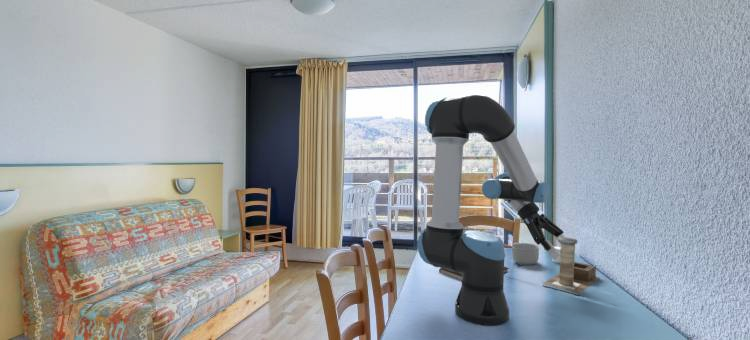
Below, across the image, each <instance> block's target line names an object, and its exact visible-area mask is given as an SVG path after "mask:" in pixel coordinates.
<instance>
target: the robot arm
mask: <svg viewBox="0 0 750 340" xmlns="http://www.w3.org/2000/svg"><path fill="white" fill-rule="evenodd" d="M424 124H425V127H426V131H427V132H428V133H429V134H431V140H432V141H433V143H434V144H435V157H434V169H433V170H434V174H433V191H432V205H431V208H432V209H431V219H430V220H429V221H428V222H426V227H425V228H423V229H422V230H421V231H420V233H419V234H420V235H418V237H417V252H418V254H419V256H420V259H422V260H423V261H424V262H425V263H426V264H428V265H431V266H433V267H434V268H439V269H440V268H443V269H447V270H451V271H454V272H458V273H461V274H462V280H461V287H460V289H459V292H458V294H457V297H456V300H455V303H454V313H455V314H456V315H457V316H458V317H459V318H460V319H462V320H464V321H466V322H467V323H470V324H475V325H480V326H489V327H491V326H501V325H504V324H505V323H508V321H509V319H510V307H509V305H508V301H507V299H506V295H505V291H504V284H505V283H504V281H505V280H504V277H505V273H504V267H505V258H506V253H505V244H504V241H503V240H502V239H501V238H500V237H499V236H497V235H495V234H493V233H489V232H486V231H481V230H480V231H478V230H465V231H464V226H463V224H462V223H461V222H460V211H461V210H460V207H461V193H462V192H461V191H462V178H463V177H462V175H463V173H462V172H463V159H464V145H465V144H466V143H468V142H469V141H470V139H469V138H470V134H479V135H481V136H482V138H483V139H484V140H485V141H486V142H488V143H490V144H491V146H492V148H493V151H495V153H496V156H498V159H499V160H500V162H501V164H502V166H503V168H504V170H505V171H506V172H502V173H500V174H498V175H497V176H495V177H494V178H489V179H486V180H485V181H484V182H483V183H482V186H481V192H482V194H483V196H484V197H485V198H487V199H490V200H505V201H506V202H507V203H508V204H509V205H510V207H511V209H513V210H514V211H515V212H516V213H517V216H519V217H520V219H521V220H522V221H523V224H525V225H526V228H527V229H528V232H529V233H530V235H531V237H532V239H533V241H534V243H536V245H537V246H539V245H541V246H542V247H543V248H544V249H545V251H546V252H547V253H548V255H549V256H550V257H551V259H552V258H553V259H556V258H557V257H559V256H560V254H559V253H558V251H557V250H556V249H555V248H554V247H553V246H554V245H553V244H552V243H551V242H550V240H549V239H546V237H545V235H544V234H545V233H544V231H543V229H544V230H545V231H547V232H548V233H549V234H551V235H553V236H554V237H555V239H556V241H557V242H558V243H559V244H560V245H561V242H559V238H560V237H565V236H564V235H563V234H564V233H565V232H564V231H563V229H561V227H559V226H558V225H556V224H555V223H554V222H553V221H552V220H551V219H549V218H548V217H547V216H546V215H545V213H541V214H539V213H538V212H539V211H540V208H539V206H538V205H537V204H538V203H539V204H544V203H546V202H547V200H548V199H549V196H550V185H549V183H548V182H546V181H542V180H538V179H537V177H536V175H535V173H534V171H533V169H532V167H531V164H530V163H529V161H528V158H527V156H526V153H525V152H524V149H523V147H522V145H521V143H520V141H519V139H518V137H517V136H516V135H517V134H516V132H515V129H516V126H515V125H516V124H515V123H514V121H513V118H512V116H511V115H510V113H509V112H508V111H507V110H506V109H505V108H504V107H503V106H502V105H501V104H500V103H499V102H497V101H496V99H493V98H491V97H490V96H487V95H485V94H479V93H473V94H467V95H458V96H449V97H448V96H447V97H443V98H440V99H436V100H434V101H432V103H430V104H429V106H428V107H427V110H426V113H425V116H424ZM536 203H537V204H536Z"/></svg>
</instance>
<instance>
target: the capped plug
mask: <svg viewBox="0 0 750 340" xmlns="http://www.w3.org/2000/svg"><path fill="white" fill-rule="evenodd" d="M559 242H561V244H560V246H561V249H560V263H559V274H560V277H559V283H560V284H561V285H565V286H573V281H574V262H575V250H576V244H578V239H577V238H572V237H565V236H564V237H560V238H559ZM559 242H558V243H559Z"/></svg>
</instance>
